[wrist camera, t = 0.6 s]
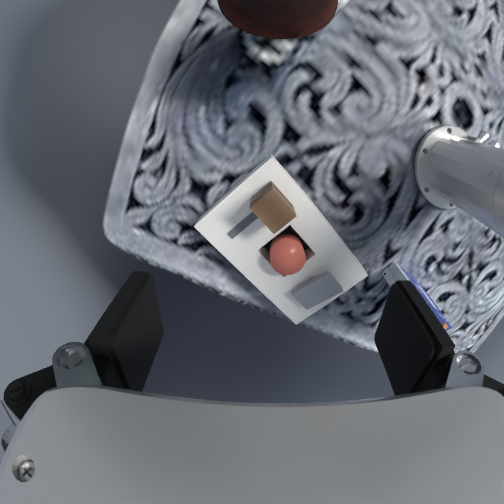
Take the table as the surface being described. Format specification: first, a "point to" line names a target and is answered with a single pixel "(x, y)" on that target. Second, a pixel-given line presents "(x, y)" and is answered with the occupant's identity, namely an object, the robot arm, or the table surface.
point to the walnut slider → (272, 207)
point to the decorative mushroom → (279, 16)
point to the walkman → (398, 273)
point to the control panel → (258, 234)
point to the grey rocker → (317, 290)
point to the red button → (287, 254)
